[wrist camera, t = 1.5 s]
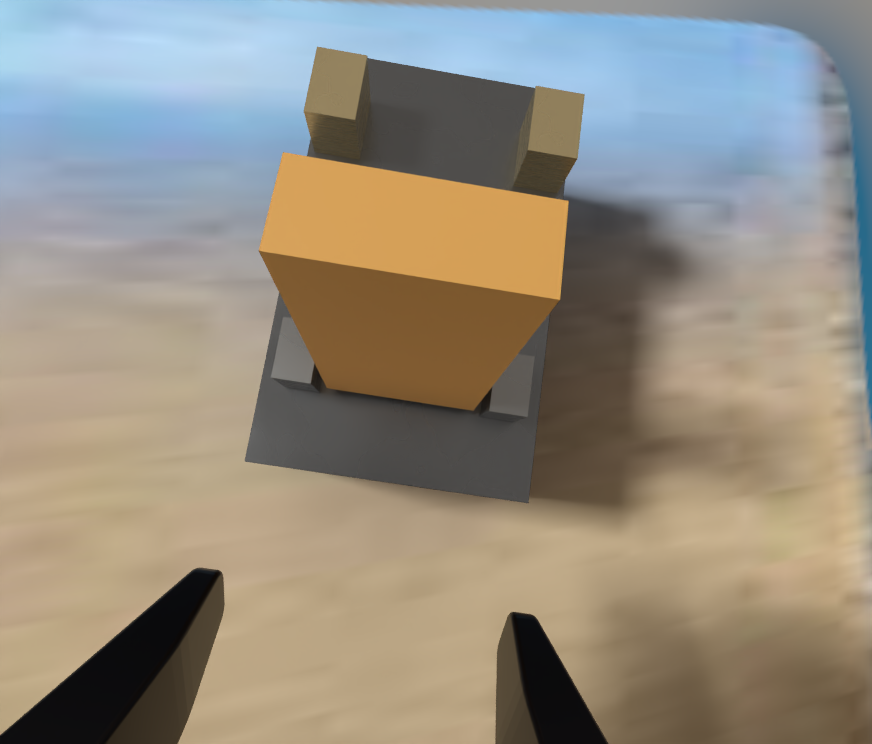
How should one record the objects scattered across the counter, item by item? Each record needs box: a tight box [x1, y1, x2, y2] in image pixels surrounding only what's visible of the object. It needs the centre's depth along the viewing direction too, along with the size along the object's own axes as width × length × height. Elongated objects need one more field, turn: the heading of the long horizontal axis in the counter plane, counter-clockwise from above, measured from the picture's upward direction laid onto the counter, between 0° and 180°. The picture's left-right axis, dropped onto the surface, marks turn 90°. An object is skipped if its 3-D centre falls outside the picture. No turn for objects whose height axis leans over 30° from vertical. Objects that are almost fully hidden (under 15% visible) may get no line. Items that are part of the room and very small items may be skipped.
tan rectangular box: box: [259, 152, 569, 411], centre depth 12 cm, size 9×4×2 cm
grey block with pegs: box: [245, 47, 585, 503], centre depth 19 cm, size 13×8×8 cm, turn 172°
